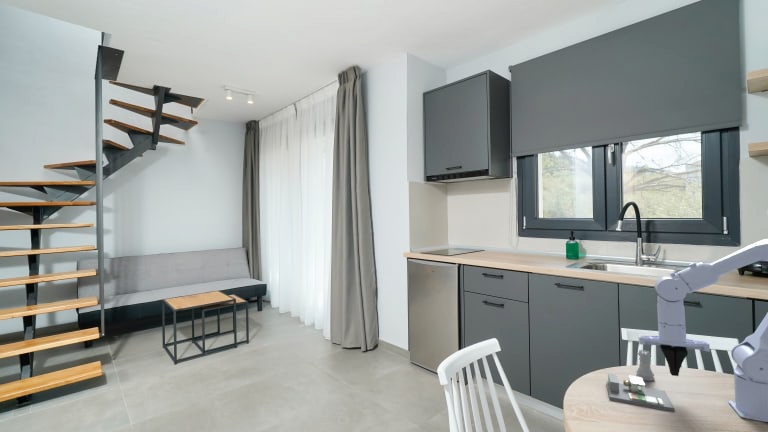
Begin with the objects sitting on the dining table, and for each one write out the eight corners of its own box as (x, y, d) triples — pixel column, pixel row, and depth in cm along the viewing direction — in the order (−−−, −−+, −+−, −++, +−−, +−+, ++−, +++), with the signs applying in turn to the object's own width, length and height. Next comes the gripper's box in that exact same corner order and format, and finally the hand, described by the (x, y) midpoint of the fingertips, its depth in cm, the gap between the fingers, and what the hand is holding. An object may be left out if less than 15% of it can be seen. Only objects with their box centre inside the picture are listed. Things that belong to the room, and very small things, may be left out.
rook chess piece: (641, 381, 103) (640, 354, 103) (632, 374, 107) (632, 348, 107) (658, 382, 102) (657, 354, 102) (648, 375, 107) (647, 348, 107)
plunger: (642, 386, 97) (641, 377, 97) (647, 399, 90) (647, 390, 90) (622, 383, 99) (622, 374, 100) (626, 396, 92) (626, 386, 92)
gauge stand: (665, 393, 95) (664, 381, 95) (674, 411, 87) (674, 398, 87) (606, 383, 102) (606, 372, 102) (609, 399, 93) (609, 387, 93)
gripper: (701, 321, 93) (704, 372, 93) (635, 316, 100) (638, 364, 100) (711, 329, 87) (714, 384, 87) (640, 323, 94) (642, 374, 94)
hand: (674, 374), depth 93 cm, fingers closed
